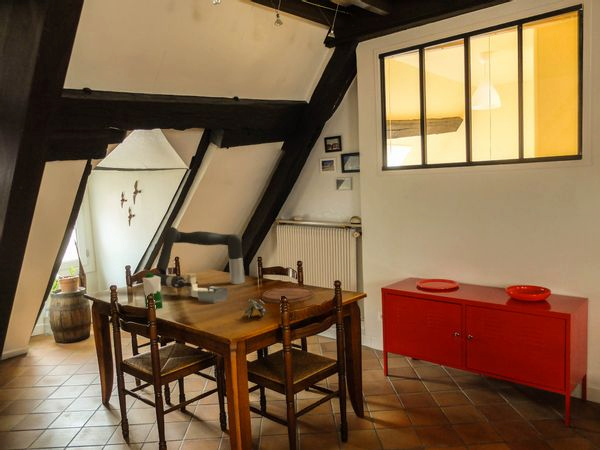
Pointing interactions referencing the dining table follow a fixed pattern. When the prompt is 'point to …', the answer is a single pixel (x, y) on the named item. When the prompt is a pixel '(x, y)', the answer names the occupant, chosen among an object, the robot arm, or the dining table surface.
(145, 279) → the milk carton
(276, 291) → the cutting board
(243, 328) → the dining table surface
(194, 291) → the gauge plunger
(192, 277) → the beech block
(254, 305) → the passion flower
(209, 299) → the gauge housing
